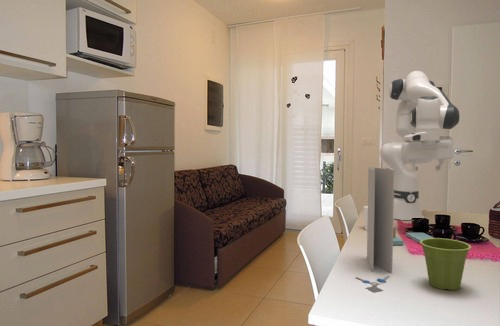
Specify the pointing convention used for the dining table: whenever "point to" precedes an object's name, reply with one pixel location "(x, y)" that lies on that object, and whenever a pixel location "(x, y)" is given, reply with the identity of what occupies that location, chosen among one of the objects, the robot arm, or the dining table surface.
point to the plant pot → (445, 261)
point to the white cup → (366, 216)
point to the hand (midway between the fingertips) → (426, 170)
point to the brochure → (380, 217)
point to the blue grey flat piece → (374, 287)
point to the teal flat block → (418, 236)
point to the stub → (396, 238)
